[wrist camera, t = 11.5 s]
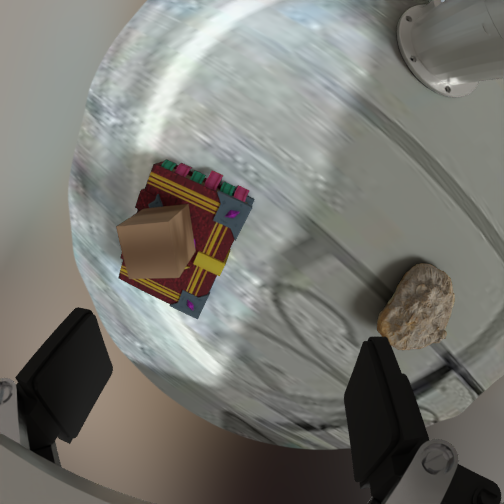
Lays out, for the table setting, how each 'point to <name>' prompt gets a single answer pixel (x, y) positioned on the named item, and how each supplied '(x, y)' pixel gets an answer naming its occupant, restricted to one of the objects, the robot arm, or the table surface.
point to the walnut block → (157, 242)
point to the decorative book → (194, 231)
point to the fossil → (418, 309)
